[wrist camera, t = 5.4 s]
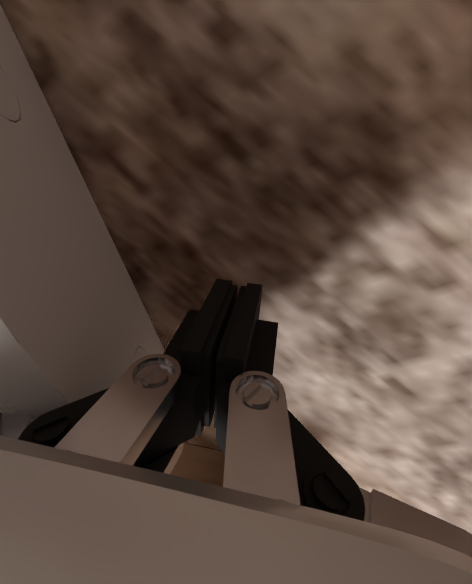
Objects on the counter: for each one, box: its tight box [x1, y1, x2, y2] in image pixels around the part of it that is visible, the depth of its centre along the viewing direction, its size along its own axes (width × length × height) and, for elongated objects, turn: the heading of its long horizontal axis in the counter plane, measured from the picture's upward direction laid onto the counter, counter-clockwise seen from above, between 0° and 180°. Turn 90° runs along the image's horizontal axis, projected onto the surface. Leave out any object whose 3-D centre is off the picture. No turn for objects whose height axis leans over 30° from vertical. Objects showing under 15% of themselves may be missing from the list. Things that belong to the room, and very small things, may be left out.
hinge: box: [0, 4, 165, 419], centre depth 10 cm, size 17×5×10 cm, turn 15°
